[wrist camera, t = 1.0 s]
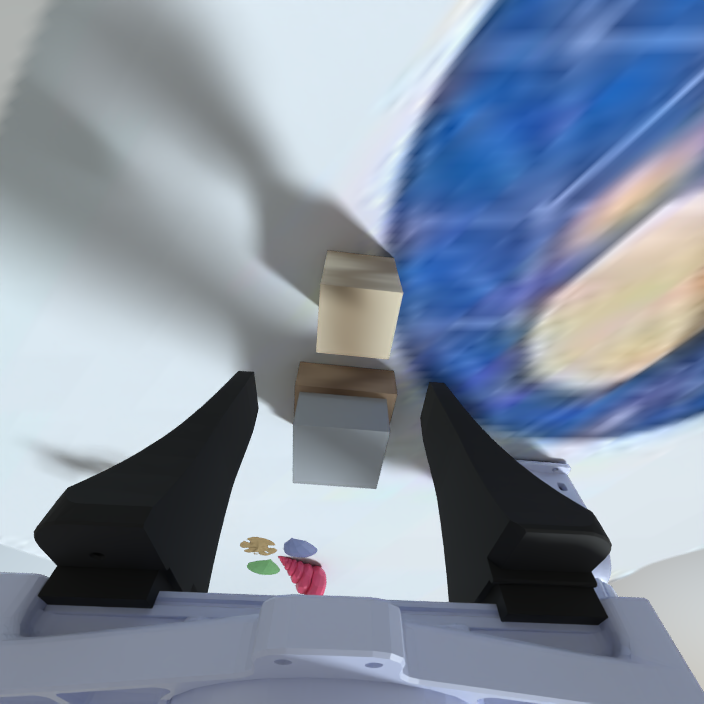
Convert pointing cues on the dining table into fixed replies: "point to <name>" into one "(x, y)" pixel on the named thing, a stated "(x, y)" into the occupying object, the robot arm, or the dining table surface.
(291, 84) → the dining table surface
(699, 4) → the dining table surface
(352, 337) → the birch block
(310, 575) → the toy pieces
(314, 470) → the slate grey block
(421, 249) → the dining table surface
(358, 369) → the walnut block
